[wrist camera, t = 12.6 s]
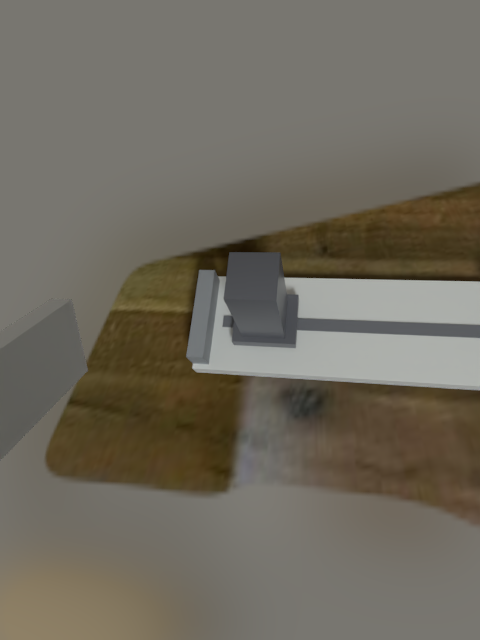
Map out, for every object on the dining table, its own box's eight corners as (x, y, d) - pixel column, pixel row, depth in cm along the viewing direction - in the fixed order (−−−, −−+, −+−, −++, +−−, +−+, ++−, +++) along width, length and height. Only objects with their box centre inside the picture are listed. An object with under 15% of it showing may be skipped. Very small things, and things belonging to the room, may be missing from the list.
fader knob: (298, 299, 43) (293, 246, 34) (295, 348, 41) (289, 307, 32) (239, 297, 44) (217, 246, 35) (233, 345, 42) (209, 304, 33)
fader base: (513, 289, 42) (531, 270, 38) (526, 393, 38) (547, 383, 35) (208, 282, 47) (199, 265, 44) (196, 372, 44) (185, 362, 40)
